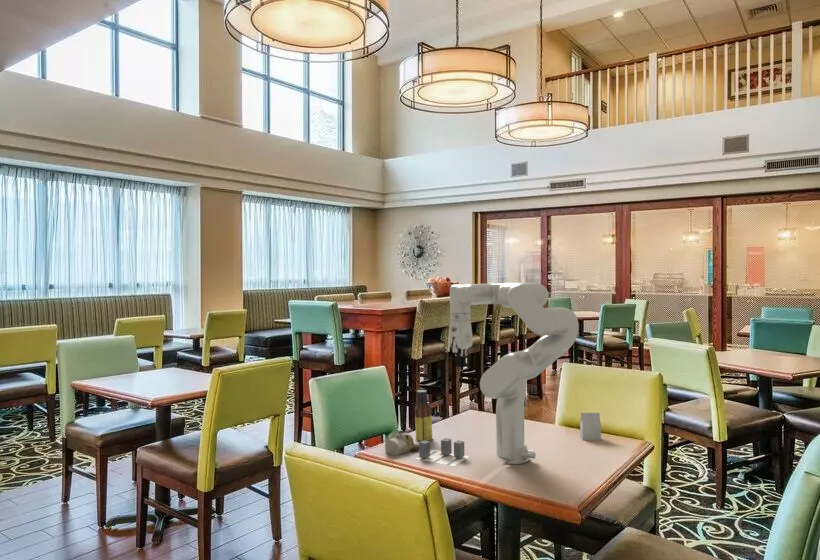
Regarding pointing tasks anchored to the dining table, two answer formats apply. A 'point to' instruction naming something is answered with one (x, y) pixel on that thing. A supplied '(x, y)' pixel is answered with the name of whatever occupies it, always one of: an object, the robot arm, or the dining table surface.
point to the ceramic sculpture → (400, 444)
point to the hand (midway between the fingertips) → (460, 366)
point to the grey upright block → (590, 426)
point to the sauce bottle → (423, 417)
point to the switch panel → (443, 458)
